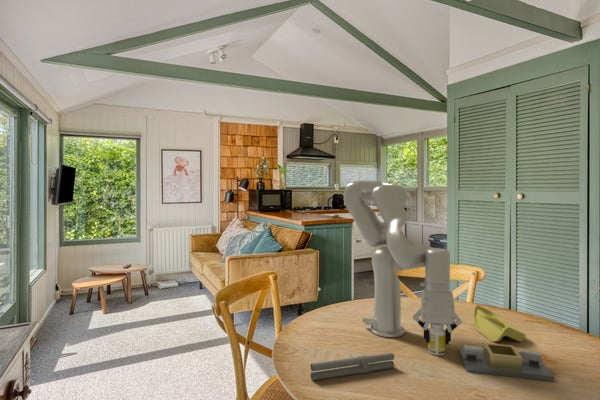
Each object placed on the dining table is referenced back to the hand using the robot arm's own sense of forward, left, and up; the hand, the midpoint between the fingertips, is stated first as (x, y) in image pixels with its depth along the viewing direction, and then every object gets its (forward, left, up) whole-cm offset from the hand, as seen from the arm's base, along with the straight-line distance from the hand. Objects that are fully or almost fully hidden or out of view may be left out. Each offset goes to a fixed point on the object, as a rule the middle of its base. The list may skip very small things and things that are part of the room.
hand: (436, 341), depth 116 cm
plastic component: (+23, +23, -4) cm, 33 cm away
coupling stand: (+18, -4, -3) cm, 19 cm away
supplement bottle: (0, 0, -4) cm, 4 cm away
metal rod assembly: (-25, -20, -4) cm, 32 cm away
